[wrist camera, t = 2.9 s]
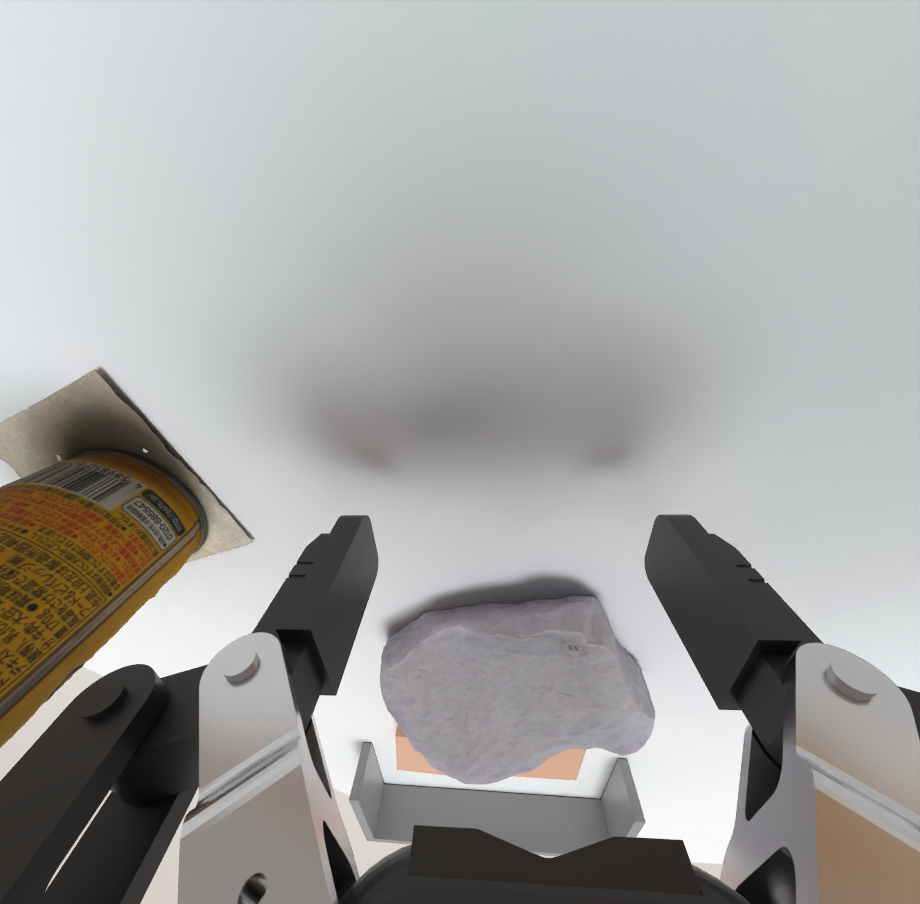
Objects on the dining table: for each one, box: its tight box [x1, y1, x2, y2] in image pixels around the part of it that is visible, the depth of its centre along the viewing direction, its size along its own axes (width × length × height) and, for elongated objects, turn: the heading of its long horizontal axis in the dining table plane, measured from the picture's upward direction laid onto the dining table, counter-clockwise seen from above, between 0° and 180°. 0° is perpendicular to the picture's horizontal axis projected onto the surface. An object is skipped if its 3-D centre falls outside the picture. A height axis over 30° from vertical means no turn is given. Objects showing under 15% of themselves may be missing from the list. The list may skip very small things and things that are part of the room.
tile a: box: [396, 725, 445, 775], centre depth 22 cm, size 4×4×2 cm
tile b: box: [513, 749, 586, 780], centre depth 22 cm, size 4×4×2 cm
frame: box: [349, 743, 645, 856], centre depth 24 cm, size 8×18×3 cm, turn 91°
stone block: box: [380, 596, 655, 784], centre depth 17 cm, size 12×5×10 cm
